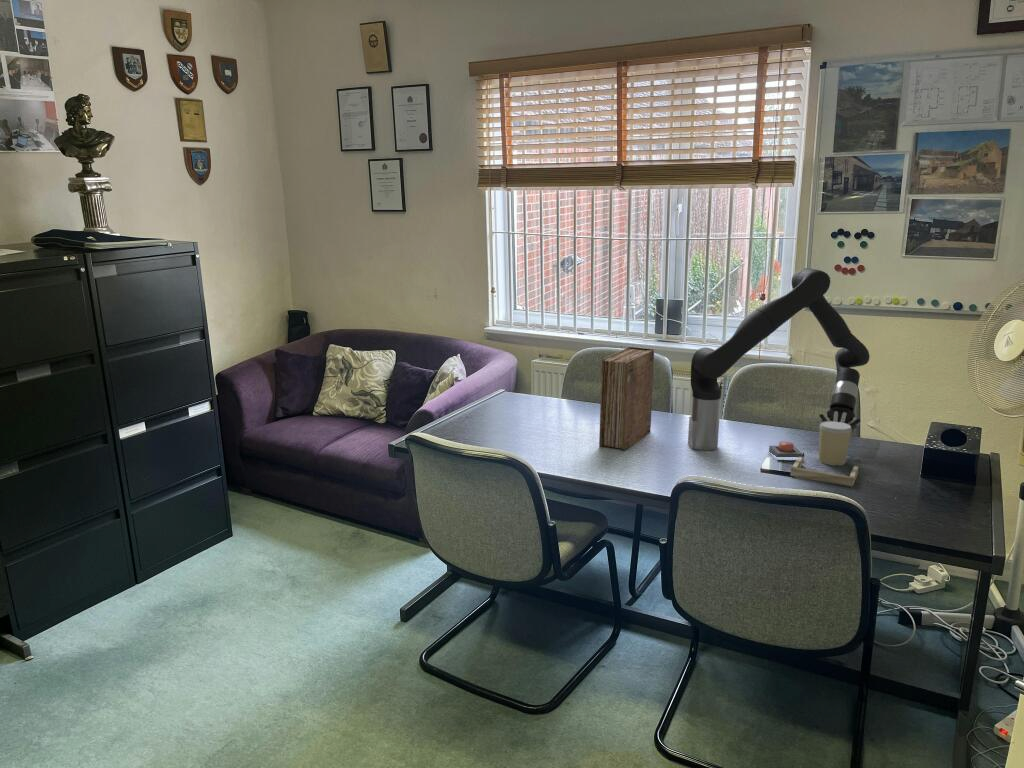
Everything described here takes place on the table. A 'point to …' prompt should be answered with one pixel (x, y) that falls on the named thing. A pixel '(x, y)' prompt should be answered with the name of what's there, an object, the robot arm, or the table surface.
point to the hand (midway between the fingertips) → (835, 443)
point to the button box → (777, 453)
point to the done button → (786, 446)
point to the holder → (823, 474)
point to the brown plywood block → (626, 397)
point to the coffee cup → (834, 442)
